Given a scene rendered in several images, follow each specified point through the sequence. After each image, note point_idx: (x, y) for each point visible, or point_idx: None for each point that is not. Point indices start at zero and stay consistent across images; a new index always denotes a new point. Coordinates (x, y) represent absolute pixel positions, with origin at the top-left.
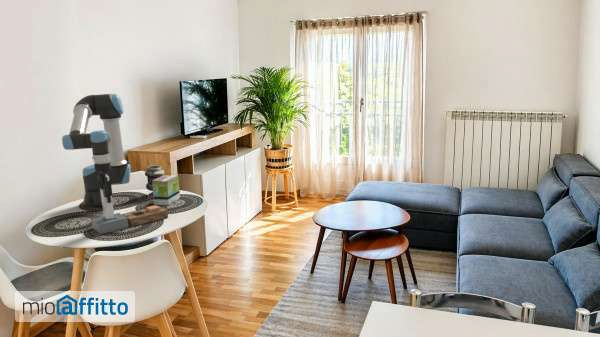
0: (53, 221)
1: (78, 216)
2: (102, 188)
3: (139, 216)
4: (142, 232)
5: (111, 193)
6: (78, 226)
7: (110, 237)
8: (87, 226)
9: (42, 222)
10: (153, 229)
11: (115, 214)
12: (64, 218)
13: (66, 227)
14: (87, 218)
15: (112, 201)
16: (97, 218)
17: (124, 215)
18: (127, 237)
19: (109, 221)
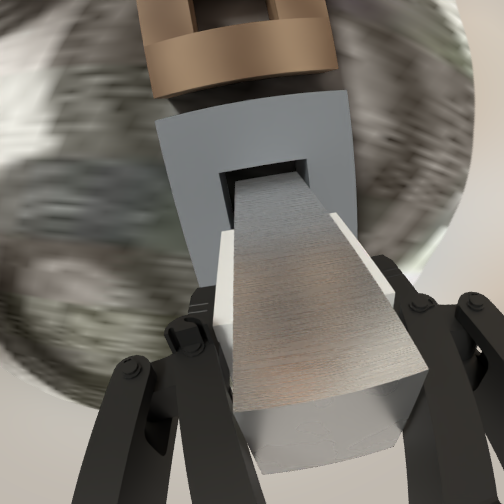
0: (53, 367)
1: (11, 298)
2: (260, 462)
3: (310, 1)
4: (446, 68)
5: (494, 319)
6: (141, 318)
7: (413, 214)
8: (160, 287)
9: (58, 387)
10: (434, 12)
11: (186, 150)
12: (27, 338)
13: (135, 352)
14: (39, 272)
15: (341, 231)
16: (215, 274)
17: (207, 85)
18: (461, 150)
19: (340, 216)
